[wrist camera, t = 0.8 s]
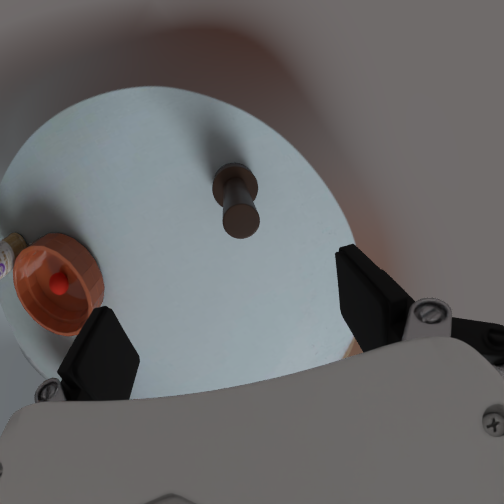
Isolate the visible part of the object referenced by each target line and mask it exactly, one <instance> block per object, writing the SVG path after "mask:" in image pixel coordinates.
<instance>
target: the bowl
mask: <svg viewBox="0 0 504 504" xmlns="http://www.w3.org/2000/svg"><path fill="white" fill-rule="evenodd" d="M58 272H59V273H63V274H64V275H65V276H66V277H67V278H68V281H69V287H68V290H67V291H66V292H65V293H64V294H62V295H57V294H54V293H53V292H52V291H51V289H50V287H49V280H50V277H51V276H52V275H53V274H54V273H58ZM13 280H14V286H15V289H16V292H17V296H18V298H19V300H20V301H21V303H22V305H23V307H24V309H25V310H26V311H27V312H28V314H29V315H30V316H31V317H32V318H33V319H34V320H35V321H36V322H37V323H38V324H40V325H41V326H42V327H43V328H45V329H47V330H49V331H51V332H53V333H55V334H58V335H63V336H73V335H78V334H79V332H80V330H81V329H82V327H83V325H84V324H85V322H86V320H87V319H88V317H89V315H90V314H91V312H92V311H93V309H94V308H98V307H100V306H101V304H102V302H103V296H104V284H103V278H102V274H101V272H100V269H99V267H98V265H97V263H96V261H95V259H94V258H93V257H92V255H91V254H90V253H89V252H88V250H87V249H86V248H85V247H84V246H83V245H81V244H80V243H79V242H78V241H76V240H75V239H73V238H71V237H69V236H66V235H64V234H61V233H49V234H46V235H44V236H42V237H40V238H38V239H37V240H35V241H34V242H33V243H31V244H30V245H28V246H27V247H26V248H24V249H23V250H22V251H21V252H20V254H19V255H18V256H17V258H16V260H15V264H14V268H13Z"/></svg>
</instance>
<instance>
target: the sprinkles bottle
mask: <svg viewBox="0 0 504 504" xmlns="http://www.w3.org/2000/svg"><path fill="white" fill-rule="evenodd" d="M26 247H27V245H26V242H25V241H24V239H23V237H22V236H21V235H19V234H18V233H11V234H10V235H9V236H8V237H7V238H5V239H3V240H2V241H0V279H1V278H2V277H4V276H5V275H6V274H7V273H8V272H10V271H11V270H12V269H13V268H14V264H15V260H16V258H17V256H18V255H19V254H20V252H21V251H22V250H23V249H24V248H26Z"/></svg>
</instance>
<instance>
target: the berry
mask: <svg viewBox="0 0 504 504" xmlns="http://www.w3.org/2000/svg"><path fill="white" fill-rule="evenodd" d="M49 287H50V289H51V291H52V292H53V293H54V294H57V295H62V294H64V293H65V292H66V291H67V290H68V287H69V281H68V278H67V277H66V276H65V275H64V274H63V273H59V272H58V273H54V274H53V275H52V276H51V277H50V280H49Z"/></svg>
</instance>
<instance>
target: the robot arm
mask: <svg viewBox="0 0 504 504" xmlns="http://www.w3.org/2000/svg"><path fill="white" fill-rule="evenodd" d="M335 258H336V268H337V277H338V288H339V300H340V310H341V314H342V316H343V318H344V320H345V322H346V323H347V325H348V327H349V328H350V330H351V332H352V333H353V335H354V337H355V339H356V340H357V342H358V344H359V345H360V347H361V349H362V351H363V353H361V354H358V355H355V356H351V357H348V358H345V359H341V360H338V361H335V362H332V363H329V364H325V365H322V366H318V367H315V368H311V369H308V370H304V371H301V372H297V373H293V374H289V375H285V376H281V377H277V378H273V379H268V380H264V381H259V382H255V383H250V384H245V385H240V386H235V387H230V388H224V389H218V390H212V391H206V392H200V393H193V394H185V395H177V396H168V397H158V398H147V399H133V400H129V398H130V395H131V391H132V387H133V384H134V380H135V377H136V373H137V370H138V366H139V363H140V358H139V355H138V353H137V352H136V350H135V348H134V347H133V345H132V343H131V342H130V340H129V338H128V337H127V335H126V333H125V332H124V330H123V328H122V326H121V325H120V323H119V321H118V319H117V317H116V316H115V314H114V312H113V310H112V309H110V308H108V307H107V306H103V307H98V308H94V309H93V311H92V312H91V314H90V315H89V317H88V319H87V320H86V322H85V324H84V325H83V327H82V329H81V330H80V332H79V334H78V335H77V337H76V339H75V340H74V342H73V344H72V346H71V347H70V349H69V351H68V353H67V354H66V356H65V358H64V360H63V362H62V364H61V365H60V367H59V369H58V371H57V373H58V374H59V375H60V377H61V378H62V381H61V382H60V381H59V380H58V379H57V378H50V379H48V380H46V381H44V382H43V383H42V384H41V385H40V386H39V387H38V388H37V390H36V393H35V404H31V405H28V406H25V407H23V408H21V409H20V410H18V411H16V412H15V413H14V414H13V415H12V416H11V418H10V419H9V421H8V423H7V425H6V427H5V429H4V431H3V433H2V435H1V437H0V504H504V326H503V325H499V324H494V323H487V322H481V321H474V320H467V319H460V318H454V317H452V311H451V308H450V307H449V305H448V304H446V303H445V302H444V301H441V300H439V299H436V298H423V299H420V300H418V301H416V302H415V301H414V300H413V299H412V298H411V297H410V296H409V295H408V294H407V293H406V292H405V291H404V290H403V289H402V288H401V287H400V286H399V285H398V284H397V283H396V282H395V281H394V280H393V279H392V278H391V277H390V276H389V275H388V274H387V273H386V272H385V271H384V270H381V269H380V268H379V267H378V266H376V265H375V264H374V263H373V262H372V261H371V260H370V259H369V258H368V257H367V256H366V255H365V254H364V253H363V252H362V251H361V250H360V249H358V248H357V247H356V246H355V245H354V244H351V245H347V246H344V247H340V248H339V252H336V253H335Z"/></svg>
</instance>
